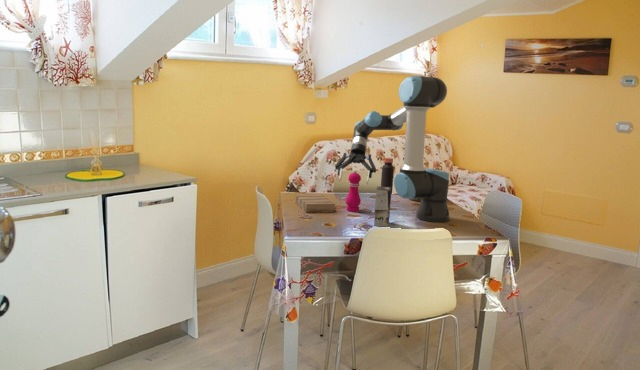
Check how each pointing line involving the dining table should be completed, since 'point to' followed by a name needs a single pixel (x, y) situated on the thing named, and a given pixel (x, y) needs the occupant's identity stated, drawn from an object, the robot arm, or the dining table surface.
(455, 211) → the dining table surface
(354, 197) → the pepper mill
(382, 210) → the coffee box
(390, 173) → the bottle
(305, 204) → the wooden slatted trivet
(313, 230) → the dining table surface
